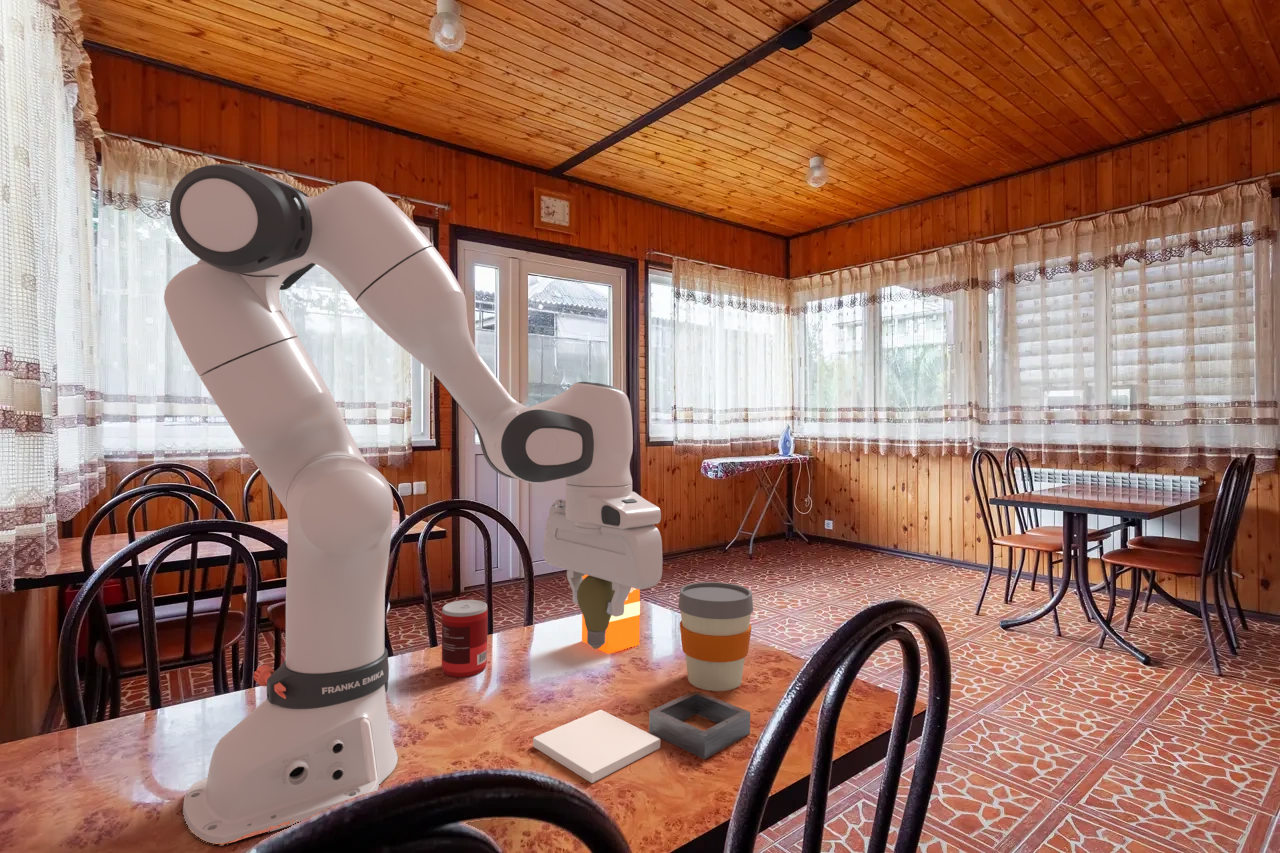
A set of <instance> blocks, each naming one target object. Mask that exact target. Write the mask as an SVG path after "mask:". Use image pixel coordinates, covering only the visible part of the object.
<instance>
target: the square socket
mask: <svg viewBox="0 0 1280 853" xmlns="http://www.w3.org/2000/svg"><path fill="white" fill-rule="evenodd" d="M648 713H649V714H648V716H649V718H648V724H649V725H648V726H649V727H648V733H649V734H651V735H653V736H655V737H657V738H659V739H662V740H664V741H666V742H669V743H670V744H672V745H674V746H676V747H678V748H681V749H682V750H685V751H686V752H688V753H691V754H693V755H695V756H697V757H698V758H701V759H703V760H707V759H708V758H710V757H712V756H713V755H715V754H717V753H718V752H720V751H722V750H724V749H726V748H727V747H729V746H731V745H732V744H735V742H737V741H740V740H741V739H742V738H744V737H746V736H749V735H750V734H751V712H750V710H746V709H743V708H741V707H738V706H736V705H734V704H732V703H729V702H726V701H724V700H721V699H719V698H716V697H714V696H711V695H708V694H706V693H704V692H701V691H699V690H696V689H695V690H693V691H690V692H688V693H686V694H683V695H682V696H680V697H677V698H675V699H672V700H670V701H668V702H666V703H664V704H662V705H660V706H657V707H655V708H652V709H651V710H649V712H648ZM695 715H697V716H699V717H702V718H704V719H706V720H708V721H710V722H713V723H715V725H712V726H711V727H709V728H707V729H705V730H702V729H700V728H698V727H695V726H694V725H691V724H689V723H687V722H684V721H685V720H687V719H689V718H692V717H693V716H695Z"/></svg>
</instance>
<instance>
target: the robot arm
mask: <svg viewBox="0 0 1280 853" xmlns="http://www.w3.org/2000/svg"><path fill="white" fill-rule="evenodd" d="M169 204H170V205H169V211H170V212H169V214H170V220H171V223H172V227H173V229H174V231H175V233H176V235H177V237H178V239H179V240H180V242H181V243H182V244H183V245H184V246H185V248H187V250H189V251H190V252H191V253H192V254H193V255H194V256H195V257H197V258H199V260H198V261H196V263H195V264H192V265H190V266H187V267H186V268H184V269H182V270H180V271H179V272H178V273H177V274H175V275H174V276H173V277H172V278H171V280H170V281H169V282H168V284H166V287H165V290H164V295H163V299H164V305H165V308H166V311H167V313H168V316H169V319H170V321H171V323H172V326H173V329H174V332H175V333H176V336H177V338H178V340H179V342H180V344H181V347H182V349H183V350H184V352H185V354H186V356H187V358H188V360H189V362H190V364H191V365H192V367H193V368H194V370H195V372H196V373H197V375H198V377H199V379H200V380H201V382H202V384H203V385H204V386H205V388H206V389H207V391H208V393H209V394H210V396H211V398H212V399H213V400H214V402H215V404H216V405H217V407H218V409H219V410H220V412H221V413H222V415H223V417H224V418H225V420H226V422H227V423H228V425H229V426H230V428H231V429H232V431H233V433H234V434H235V436H236V437H237V439H238V441H239V442H240V444H241V445H242V446H243V448H244V449H245V450H246V452H247V453H248V455H249V456H250V458H251V460H252V462H254V464H255V465H256V467H257V468H258V470H259V471H260V473H261V475H262V477H263V478H264V479H265V481H266V482H267V484H268V485H269V487H270V488H271V490H272V491H273V493H274V494H275V496H276V498H277V499H278V501H279V502H280V504H281V505H282V507H283V508H284V510H285V512H286V515H287V551H286V552H287V557H286V558H287V559H286V560H287V561H286V585H285V586H286V590H285V591H286V592H285V660H284V661H283V663H282V664H280V666H279V667H277V669H276V670H274V669H273V668H272V667H271V666H270V665H268V664H265V665H260V666H258V667H257V668H256V671H254V672H253V674H254V675H253V680H254V681H255V682H257V684H258V685H259V686H261V687H266V699H264V700H263V701H262V702H261V703H260V704H259V705H258V706H257V707H256V708H254V709H252V711H251V712H250V713H249V714H248V715H247V716H246V717H244V718H243V719H242V720H241V721H239V723H237V724H236V725H235V726H234V727H233V728H232V729H230V730H229V731H228V732H227V733H226V734H224V735H223V736H222V737H221V738H220V739H219V741H218V742H217V744H216V745H215V747H214V749H213V752H212V755H211V759H210V761H209V766H208V772H207V777H205V778H203V779H201V780H198V781H196V782H194V783H193V784H192V785H191V786H190V787H189V789H188V790H187V792H186V793H185V795H184V799H183V806H182V816H183V815H184V817H183V820H184V819H185V820H184V822H185V821H186V823H185V825H186V824H187V825H188V827H189V828H190V829H191V831H193V833H194V834H196V835H197V836H198V837H200V838H202V839H203V840H205V841H207V842H210V843H221V844H222V843H226V842H229V841H233V840H235V839H238V838H240V837H242V836H244V835H246V834H250V833H251V832H254V831H259V830H264V829H266V828H268V830H269V826H278V825H279V824H281V823H283V822H288V821H290V824H289V825H288V826H286V825H287V824H286V825H285V826H283V825H282V826H280V827H279V828H276V829H273V830H271V831H270V832H274V831H278V830H280V829H284V828H287V827H289V826H294V825H296V824H295V823H297V822H300V821H302V820H304V819H306V818H308V817H310V816H312V815H314V814H316V813H318V812H321V811H323V810H325V809H327V808H330V807H332V806H335V805H337V804H339V803H342V802H344V801H346V800H349V799H352V798H354V797H357V796H359V795H362V794H366V793H370V792H374V791H377V792H378V790H379V788H380V785H381V784H382V782H383V781H385V779H387V778H388V776H390V774H392V772H393V771H394V770H395V768H396V767H397V765H398V760H399V758H398V752H397V750H396V747H395V743H394V740H393V736H392V732H391V727H390V721H389V713H388V705H387V692H388V689H389V677H390V667H389V653H388V649H387V648H386V647H385V611H386V606H385V605H386V597H385V596H386V583H387V575H388V568H389V560H390V550H391V541H392V529H393V527H392V526H393V514H394V497H393V492H392V488H391V486H390V484H389V482H388V480H387V479H386V477H385V476H384V475H383V474H382V473H381V472H380V471H379V470H378V469H377V468H375V467H374V466H372V465H371V464H369V463H368V462H367V461H366V459H365V458H364V456H363V455H362V452H361V450H360V449H359V447H358V446H357V443H356V442H355V439H354V437H353V436H352V434H351V432H350V430H349V428H348V425H347V423H346V421H345V420H344V418H343V416H342V414H341V412H340V409H339V407H338V405H337V402H336V400H335V399H334V396H333V395H332V393H331V390H330V389H329V387H328V386H327V384H326V383H325V380H324V379H323V377H322V376H321V374H320V372H319V371H318V370H319V369H318V368H317V366H316V365H315V364H314V362H313V360H312V358H311V356H310V355H309V353H308V352H307V350H306V348H305V346H304V345H303V342H302V341H301V339H300V337H298V336H299V335H298V333H297V332H296V331H295V329H294V327H293V325H292V323H291V322H290V321H289V319H288V316H287V315H286V313H285V311H284V309H283V307H282V304H281V302H280V291H283V290H284V291H286V290H289V288H291V287H292V286H293V285H294V284H295V283H297V281H298V280H300V279H301V278H302V277H303V276H304V275H305V274H307V272H309V271H310V270H312V269H313V268H314V267H315V266H316V265H317V266H319V267H321V268H323V269H324V270H326V271H327V272H328V273H329V274H330V275H331V276H333V277H334V278H335V279H336V280H337V282H339V284H340V285H341V286H342V287H343V288H344V290H345V291H346V292H347V293H348V294H349V296H351V298H352V299H353V300H354V301H355V303H356V304H357V305H358V306H359V307H360V309H361V310H362V311H363V312H364V313H365V314H366V315H367V316H368V317H369V319H371V320H372V322H373V323H374V324H376V325H377V327H379V329H380V330H382V331H383V332H384V333H385V334H386V335H387V336H389V338H391V339H392V340H393V341H394V342H396V344H397V345H399V346H400V347H401V348H402V349H404V350H405V351H406V352H407V353H409V354H410V355H411V356H412V357H413V358H415V359H416V360H417V361H418V362H419V363H420V364H421V365H422V366H424V367H425V368H426V369H427V370H429V371H430V372H431V374H433V375H434V376H435V378H437V380H438V381H439V382H440V384H441V385H442V386H443V387H444V388H445V390H446V391H447V392H448V394H449V396H451V397H452V398H453V399H454V402H456V403H457V405H458V406H459V407H460V408H461V410H462V412H464V414H465V415H466V416H467V417H468V419H469V420H470V422H472V424H473V426H474V428H475V431H476V434H477V435H478V440H479V444H480V449H481V451H482V454H483V457H484V458H485V460H486V462H487V464H488V465H489V466H490V467H491V469H492V470H494V471H495V472H496V473H498V474H500V475H502V476H503V477H506V478H509V479H515V480H519V481H522V482H526V483H529V484H545V483H548V482H549V483H550V482H551V481H556V480H561V479H564V478H565V499H562V498H560V499H559V498H558V499H556V500H555V501H554V502H553V503H552V505H551V506H550V507H549V515H548V518H547V520H546V523H545V529H544V537H543V538H544V539H543V552H542V554H543V558H544V561H545V563H546V564H547V565H550V566H553V567H557V568H561V569H565V570H566V579H567V581H568V584H569V586H570V589H571V591H572V602H573V603H574V604H577V605H579V604H578V601H577V591H578V587H579V585H580V583H581V582H582V581H583V576H585V575H589V576H592V577H596V578H599V579H603V580H606V581H610V582H612V590H614V591H615V593H614V596H613V598H612V600H610V601H607V614H609V615H612V616H615V617H617V616H621V615H623V613H624V601H625V600H626V598H627V596H628V594H629V593H630V591H631V588H635V589H639V590H640V591H641V590H645V589H649V588H653V587H656V586H657V585H658V584H659V582H660V581H661V580H662V575H663V541H662V535H661V532H660V530H659V529H658V527H656V525H657V524H659V523H660V522H661V520H662V513H661V512H662V511H661V509H660V507H658V506H657V505H655V504H654V503H652V502H650V501H648V500H647V499H645V498H643V496H642V495H639V494H638V493H637V492H635V491H633V478H632V474H631V469H630V468H631V467H630V466H631V465H630V463H631V459H632V455H633V449H634V447H633V446H634V440H633V439H634V436H633V419H632V418H633V417H632V416H633V415H632V409H631V404H630V399H629V397H628V395H627V394H626V393H625V392H624V390H622V389H620V388H618V387H615V386H612V385H608V384H605V383H598V382H591V381H579V382H578V381H577V382H575V383H572V386H570V387H569V388H568V389H566V390H565V391H563V392H561V393H559V394H557V395H556V396H553V397H551V398H549V399H546V400H545V401H541V402H539V403H537V404H534V405H531V406H526V405H523V403H520V402H518V401H517V400H515V398H513V397H512V396H511V395H510V394H509V392H508V391H507V389H506V388H505V387H504V386H503V385H502V383H501V382H500V381H499V379H498V378H497V376H496V375H495V373H494V372H493V371H492V369H491V367H489V366H488V365H487V363H486V362H485V361H484V359H483V358H482V356H481V355H480V354H479V352H478V351H477V348H476V347H475V346H476V345H475V344H474V342H473V340H472V338H471V337H472V336H471V333H470V330H469V324H468V322H469V321H468V311H467V310H468V309H467V308H468V306H467V300H466V296H465V293H464V291H463V289H462V288H461V285H460V283H459V282H458V279H457V278H456V276H455V275H454V273H453V271H452V270H451V268H450V267H449V265H448V264H447V261H446V260H445V259H444V257H443V256H442V255H441V253H439V251H438V250H437V249H436V247H435V246H434V245H433V243H431V241H430V240H429V238H427V236H426V235H425V234H424V233H423V231H421V229H420V228H419V227H418V226H417V225H416V223H414V221H413V220H411V218H410V217H408V215H407V214H406V213H405V212H404V211H403V210H402V209H401V208H400V207H399V206H398V205H397V204H396V203H394V202H393V201H392V199H390V198H389V197H388V196H387V195H386V194H385V193H384V192H382V191H381V190H380V189H379V188H378V187H376V186H375V185H373V184H371V183H368V182H365V181H360V180H353V181H345V182H342V183H339V184H336V185H333V186H332V187H330V188H328V189H327V190H325V191H323V192H321V193H320V194H318V195H315V196H309V195H308V194H307V193H306V192H303V191H302V190H300V189H298V188H296V187H294V186H293V185H291V184H290V183H288V182H287V181H284V180H282V179H280V178H278V177H276V176H274V175H271V174H268V173H265V172H260V171H257V170H255V169H253V168H250V167H247V166H242V165H239V164H231V163H218V164H216V163H215V164H208V165H205V166H201V167H198V168H195V169H194V170H192V171H189V172H188V173H187V174H185V176H184V177H182V178H181V179H180V181H179V182H177V184H176V186H175V188H174V190H173V191H172V194H171V198H170V202H169ZM379 784H380V785H379ZM293 819H294V822H293V821H292V820H293ZM296 820H298V821H296ZM291 822H293V823H291ZM300 823H301V822H300ZM293 824H294V825H293ZM297 824H298V823H297ZM187 825H186V826H187ZM188 827H187V828H188ZM189 828H188V829H189ZM191 831H190V832H191ZM270 832H269V833H270ZM207 842H206V843H207Z"/></svg>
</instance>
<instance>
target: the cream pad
mask: <svg viewBox="0 0 1280 853" xmlns="http://www.w3.org/2000/svg"><path fill="white" fill-rule="evenodd" d="M532 738H533V739H532V741H533V742H532V747H533V748H535V749H536V750H538V751H540V752H542V753H543V754H545V755H546V756H548V757H549V758H551V759H552V760H554V761H556V762H557V763H558V764H560V765H562V766H563V767H565V768H567V769H568V770H570V771H572V772H574V773H575V774H576V775H578V776H580V777H581V778H583V779H584V780H586V781H588V782H589V783H591V784H593V783H596V782H597V781H599V780H601V779H604V778H605V777H607V776H609V775H611V774H613V773H615V772H616V771H618V770H621V769H622V768H624V767H626V766H628V765H630V764H632V763H634V762H636V761H638V760H640V759H642V758H643V757H646V756H647V755H649V754H651V753H654V752H655V751H657V750H659V749H660V748H661V738H660V737H658V736H656V735H654V734H652V733H650V732H647V731H646V730H643V729H641V728H639V727H638V726H635V725H633V724H631V723H629V722H627V721H625V720H623V719H622V718H619V717H617V716H615V715H612V714H611V713H608V712H606V711H604V710H602V709H599V710H596V711H594V712H591V713H588V714H586V715H585V716H582V717H579V718H577V719H574V720H572V721H569V722H567V723H565V724H563V725H559V726H557V727H555V728H553V729H551V730H548V731H545V732H543V733H541V734H538V735H536V736H534V737H532Z"/></svg>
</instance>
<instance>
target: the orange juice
mask: <svg viewBox="0 0 1280 853" xmlns="http://www.w3.org/2000/svg"><path fill="white" fill-rule="evenodd" d="M587 576H589V575H585V576H582V577H583V579H584V578H586V577H587ZM640 593H641V589H640V590H639V589H635V588H631V591H630V593H629V594H628V596H627V598H626V600H625V601H624V613H623V615H621V616H617V617H615V616H611V618H610V621H609V625H608V628H607V629H606V634H605V644H603V645H602V646H601V647H600V648H598V649H597V650H599V651H601V652H602V653H605V654H607V655H610V654H613V653H617V652H621V651H624V649H625V650H628V649H631V648H630V647H632V648H635V647H638V646H637V645H639V646H640V615H641V598H640V597H641V594H640ZM587 634H588V633H587V627H586V625H585V619H584V616H583V613H582V612H581V642H582V643H584V644H586V645H589V644H588V643H587ZM589 646H590V645H589ZM634 646H635V647H634ZM627 648H628V649H627Z"/></svg>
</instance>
